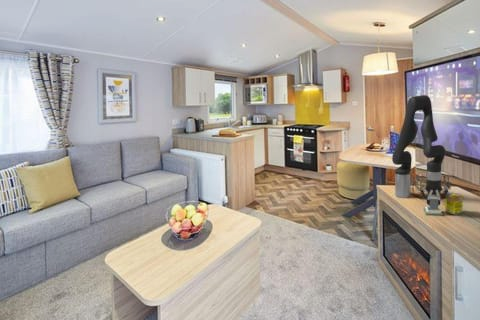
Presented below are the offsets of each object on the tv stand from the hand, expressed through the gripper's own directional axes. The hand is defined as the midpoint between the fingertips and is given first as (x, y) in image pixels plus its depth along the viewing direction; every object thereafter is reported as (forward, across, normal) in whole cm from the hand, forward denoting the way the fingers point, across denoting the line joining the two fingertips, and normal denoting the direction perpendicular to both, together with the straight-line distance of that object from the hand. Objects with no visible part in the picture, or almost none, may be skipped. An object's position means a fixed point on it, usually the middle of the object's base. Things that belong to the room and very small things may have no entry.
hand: (433, 205), depth 163 cm
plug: (+2, 0, 0) cm, 2 cm away
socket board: (+5, 0, 0) cm, 5 cm away
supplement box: (+5, -10, -2) cm, 12 cm away
